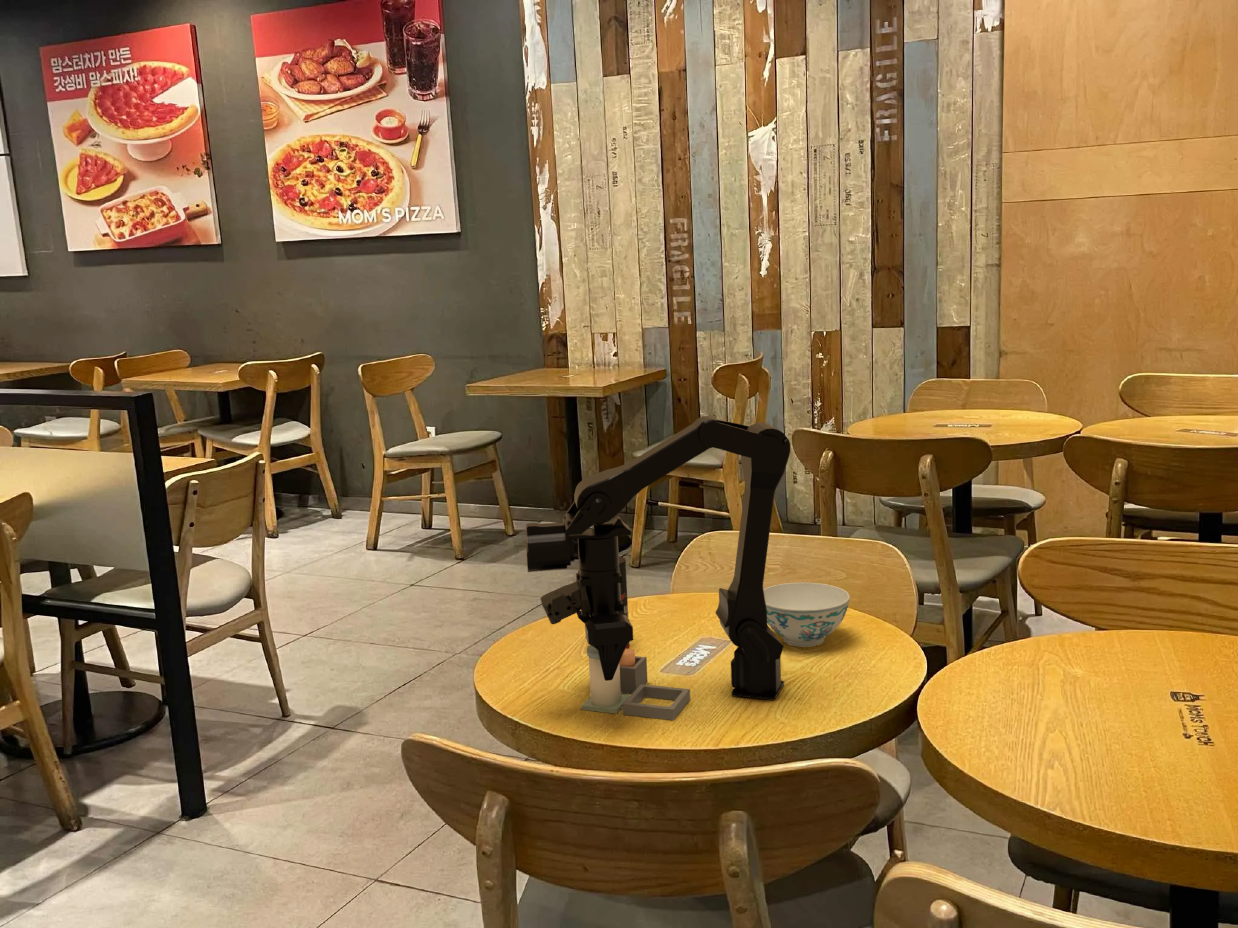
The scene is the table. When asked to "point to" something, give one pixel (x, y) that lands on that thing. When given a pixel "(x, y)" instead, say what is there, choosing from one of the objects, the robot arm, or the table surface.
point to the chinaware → (805, 611)
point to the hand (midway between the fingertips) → (604, 670)
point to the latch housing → (633, 675)
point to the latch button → (628, 658)
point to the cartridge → (602, 682)
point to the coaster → (609, 709)
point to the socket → (656, 711)
